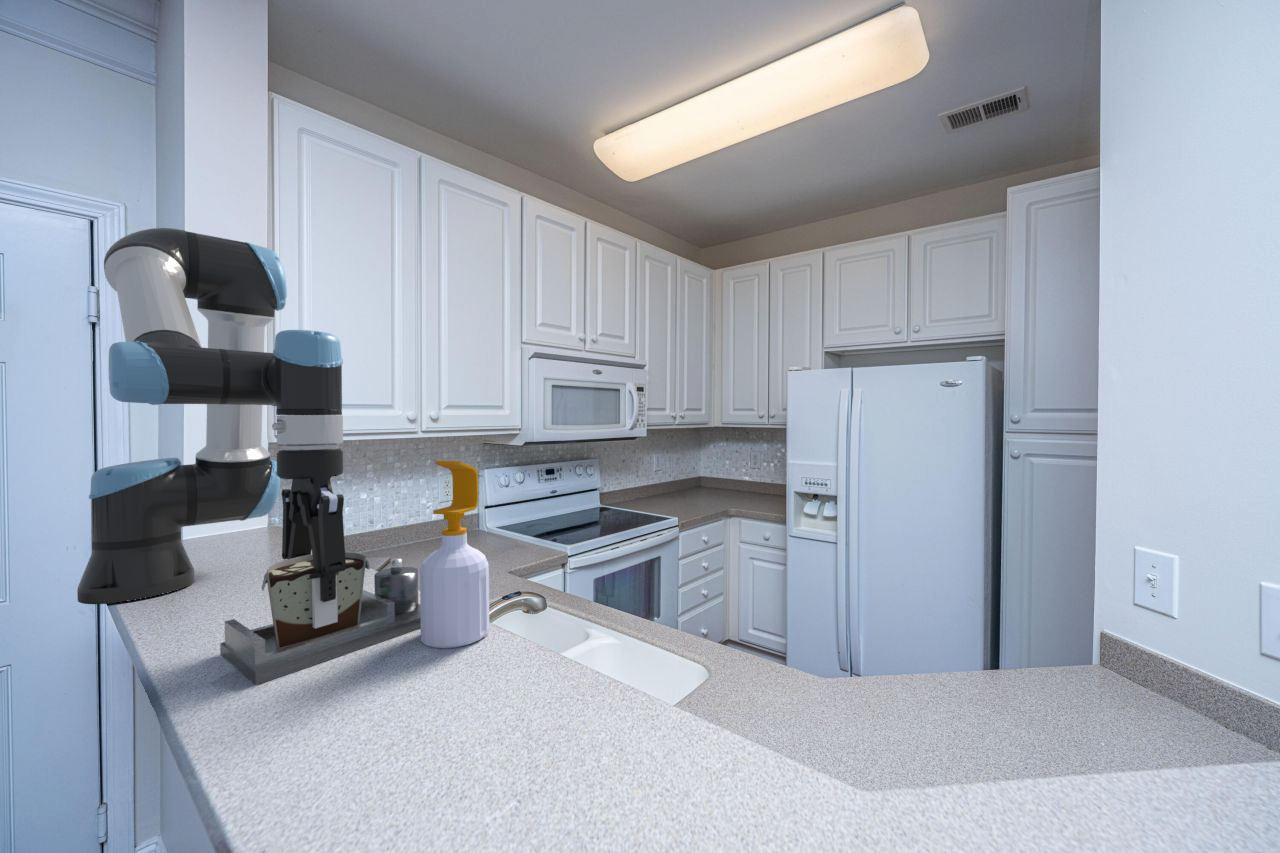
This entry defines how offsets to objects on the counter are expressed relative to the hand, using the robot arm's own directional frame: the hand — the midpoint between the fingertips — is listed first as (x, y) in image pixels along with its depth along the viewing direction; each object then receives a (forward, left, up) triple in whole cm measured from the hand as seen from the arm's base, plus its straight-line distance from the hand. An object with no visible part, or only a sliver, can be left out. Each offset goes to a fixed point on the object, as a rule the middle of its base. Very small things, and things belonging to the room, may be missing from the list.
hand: (313, 617), depth 70 cm
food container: (0, 0, -2) cm, 2 cm away
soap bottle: (+13, +13, -4) cm, 19 cm away
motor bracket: (0, +3, -4) cm, 5 cm away
